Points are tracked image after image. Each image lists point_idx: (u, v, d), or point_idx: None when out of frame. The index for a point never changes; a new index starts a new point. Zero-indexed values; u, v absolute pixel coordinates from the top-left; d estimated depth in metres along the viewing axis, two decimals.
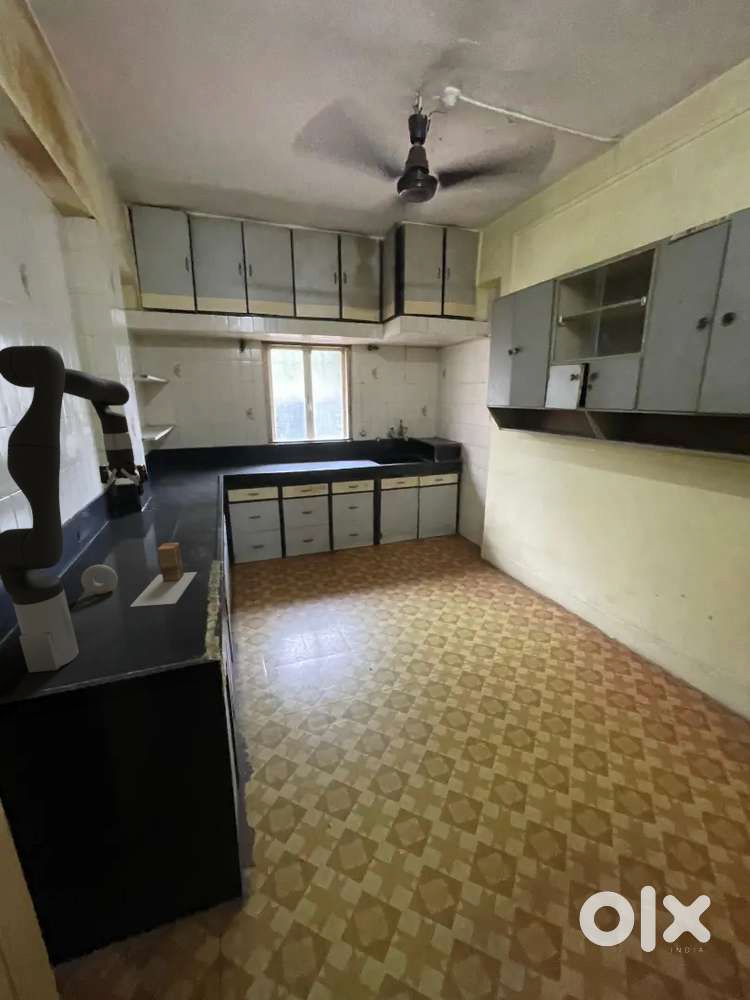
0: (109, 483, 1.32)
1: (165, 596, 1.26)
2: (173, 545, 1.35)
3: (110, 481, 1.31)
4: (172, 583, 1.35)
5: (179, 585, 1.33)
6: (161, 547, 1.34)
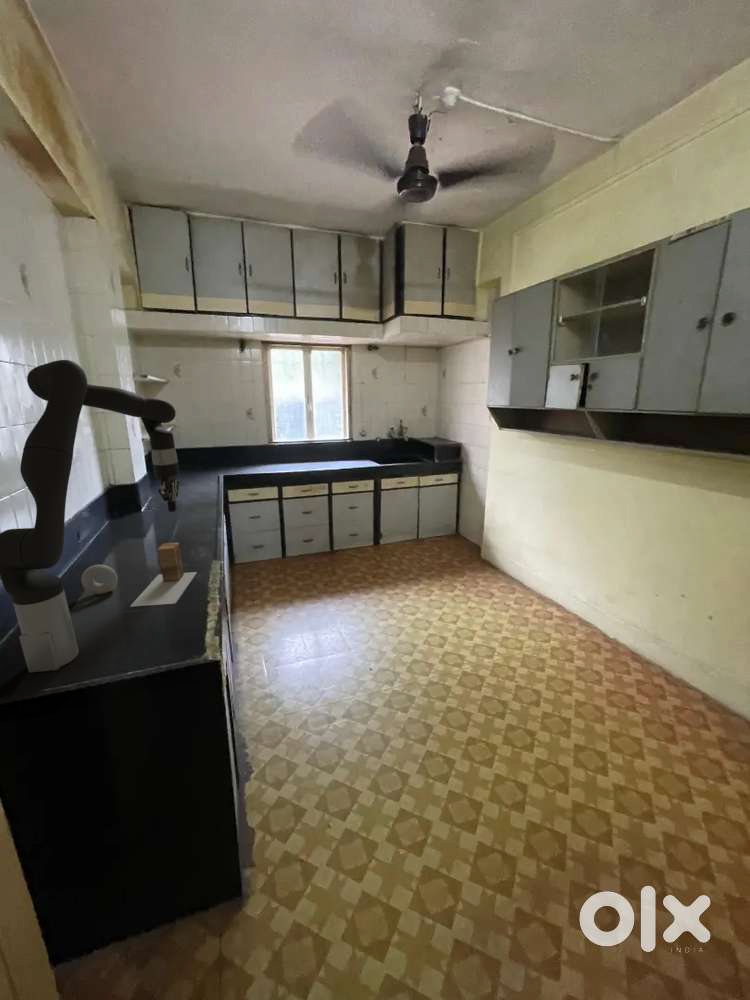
0: None
1: (165, 596, 1.26)
2: (173, 545, 1.35)
3: None
4: (172, 583, 1.35)
5: (179, 585, 1.33)
6: (161, 547, 1.34)
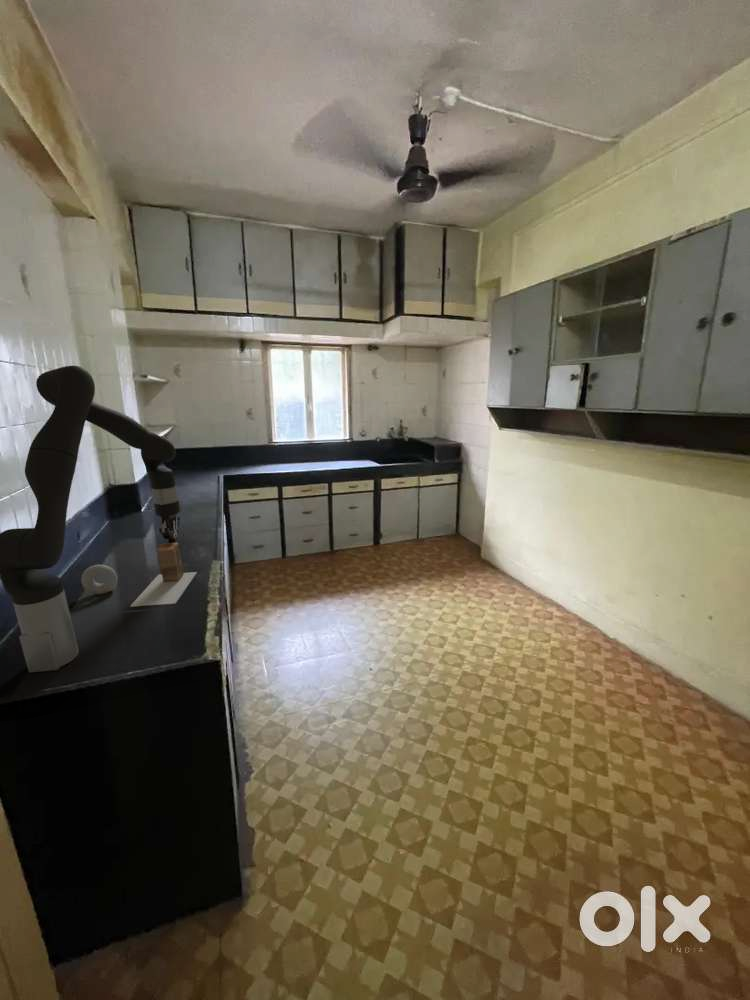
0: None
1: (165, 596, 1.26)
2: (172, 545, 1.35)
3: None
4: (172, 583, 1.35)
5: (179, 585, 1.33)
6: (160, 547, 1.33)
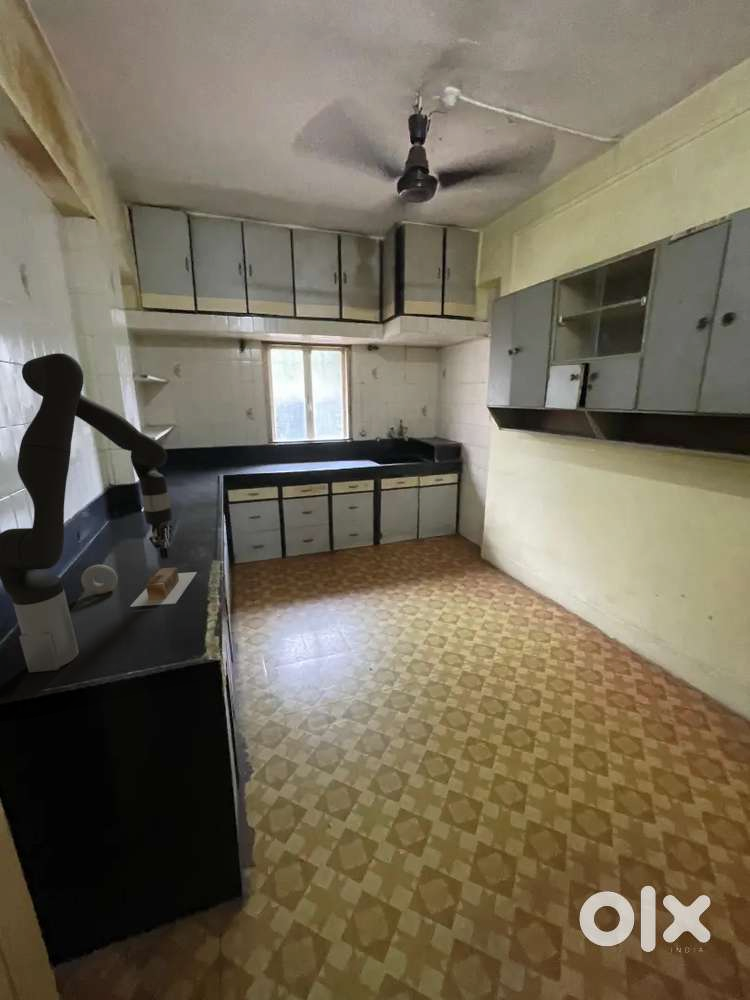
0: None
1: None
2: (160, 591, 1.24)
3: None
4: None
5: (179, 585, 1.33)
6: (149, 595, 1.24)
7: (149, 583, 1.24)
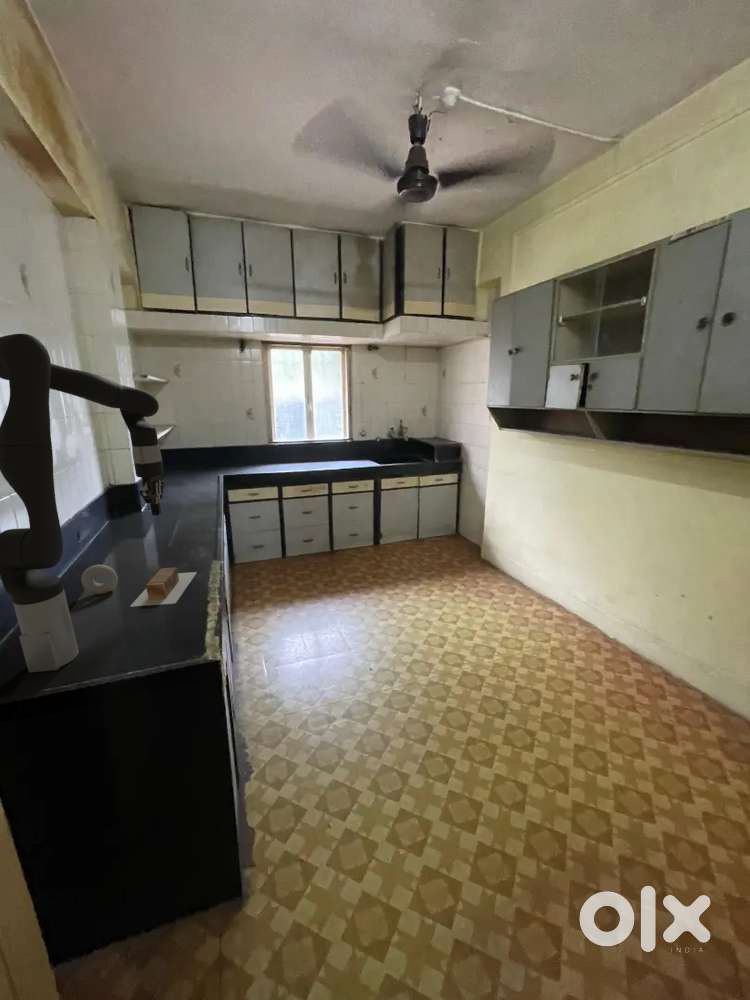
0: None
1: None
2: (160, 591, 1.24)
3: None
4: None
5: (179, 585, 1.33)
6: (149, 595, 1.24)
7: (149, 583, 1.24)
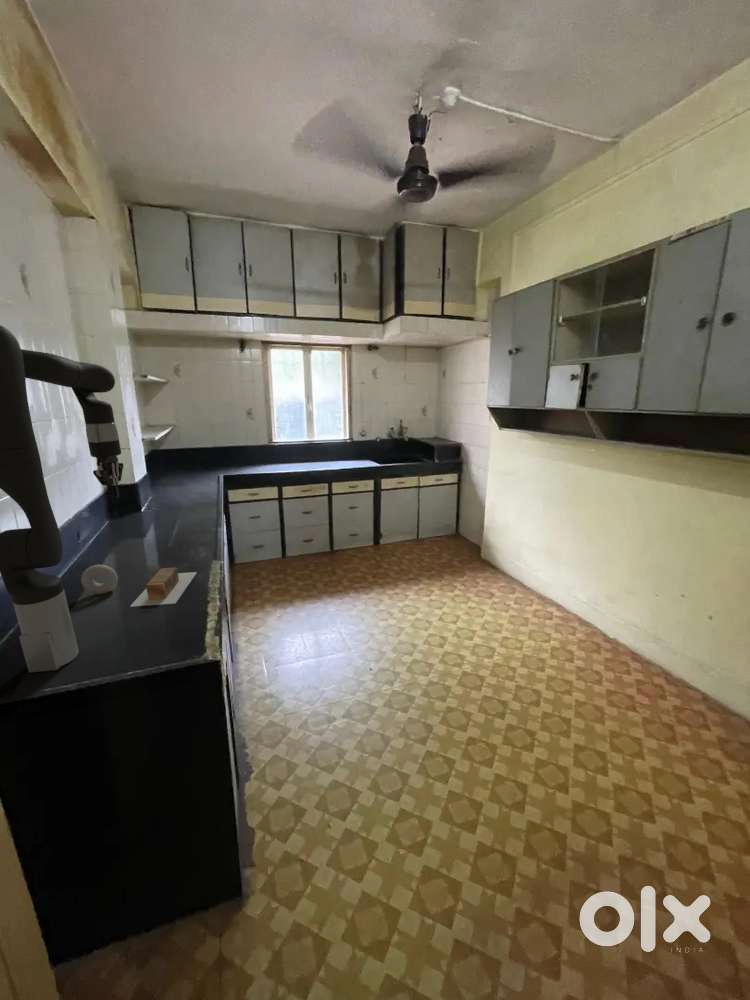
0: None
1: None
2: (160, 591, 1.24)
3: None
4: None
5: (179, 585, 1.33)
6: (149, 595, 1.24)
7: (149, 583, 1.24)
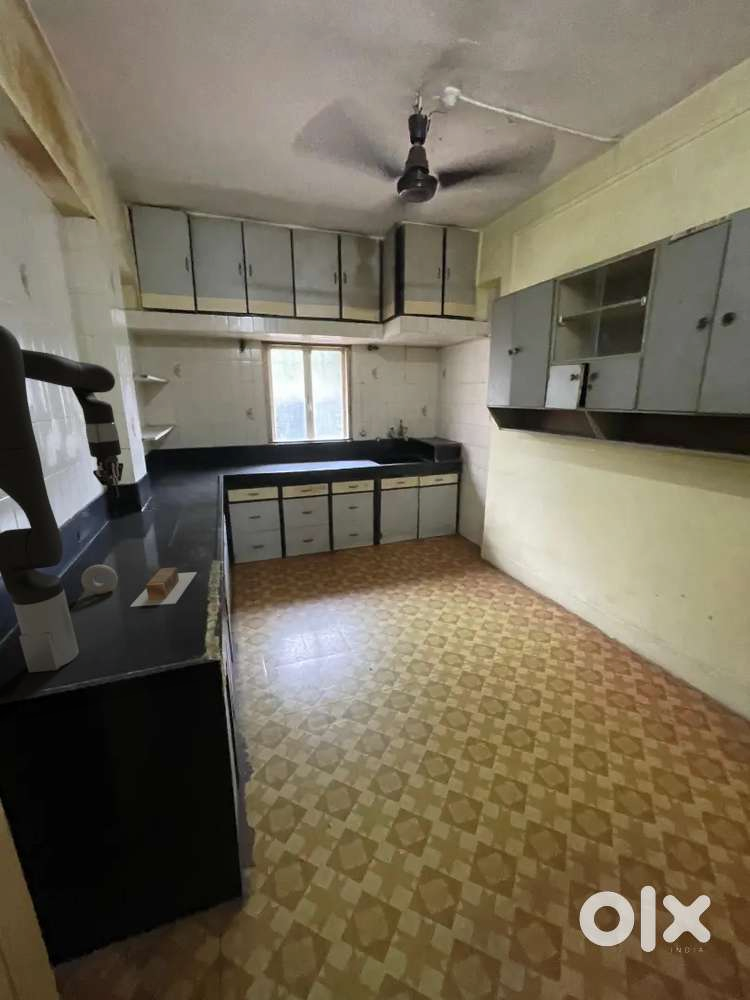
0: None
1: None
2: (160, 591, 1.24)
3: None
4: None
5: (179, 585, 1.33)
6: (149, 595, 1.24)
7: (149, 583, 1.24)
